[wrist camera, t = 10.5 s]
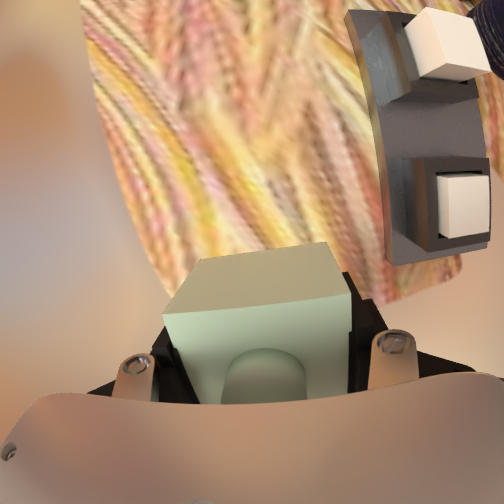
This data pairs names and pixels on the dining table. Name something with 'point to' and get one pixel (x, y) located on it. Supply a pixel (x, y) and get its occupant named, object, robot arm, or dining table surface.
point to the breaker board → (415, 137)
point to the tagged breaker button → (462, 203)
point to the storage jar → (491, 32)
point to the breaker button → (446, 46)
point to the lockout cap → (264, 326)
